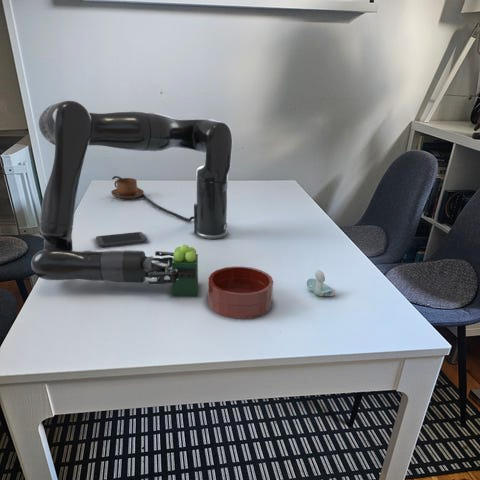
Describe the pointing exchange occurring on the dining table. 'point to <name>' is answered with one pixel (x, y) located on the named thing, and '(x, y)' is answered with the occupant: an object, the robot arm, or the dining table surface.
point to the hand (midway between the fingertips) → (195, 268)
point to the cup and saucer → (126, 189)
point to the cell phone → (120, 239)
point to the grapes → (186, 260)
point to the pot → (240, 292)
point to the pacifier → (319, 285)
